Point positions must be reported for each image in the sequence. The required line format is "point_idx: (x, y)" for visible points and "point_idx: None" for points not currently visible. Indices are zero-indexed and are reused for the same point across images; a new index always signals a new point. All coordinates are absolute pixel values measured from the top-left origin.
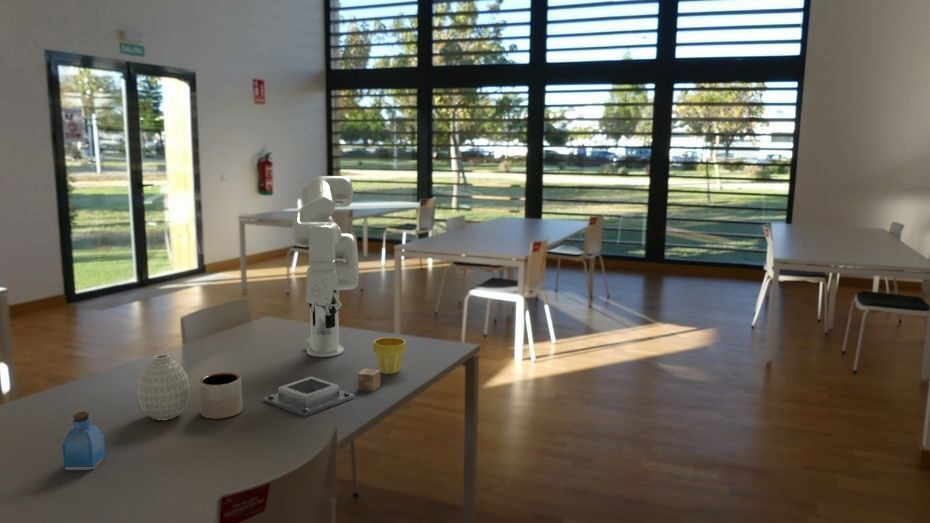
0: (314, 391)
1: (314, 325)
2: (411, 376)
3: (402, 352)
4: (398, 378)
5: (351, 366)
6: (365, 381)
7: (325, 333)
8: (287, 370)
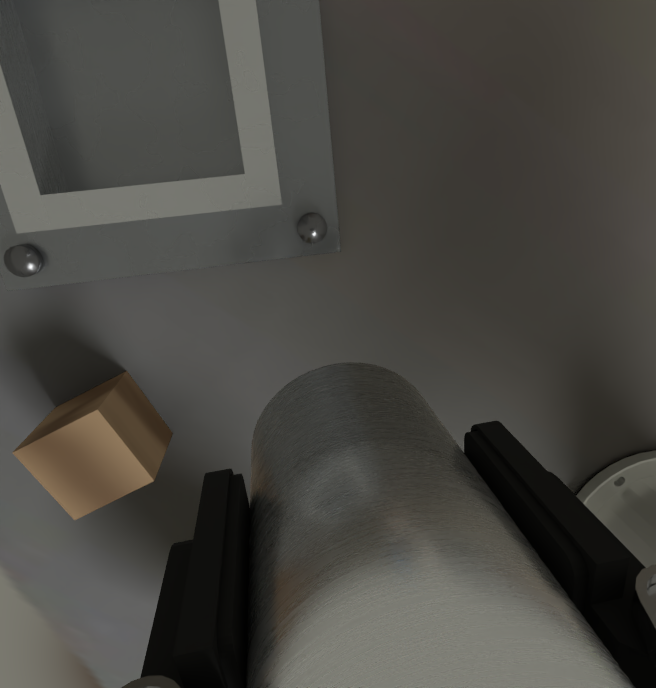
0: (191, 158)
1: (473, 428)
2: (125, 605)
3: None
4: (138, 561)
5: None
6: (75, 409)
7: (258, 426)
8: (596, 270)
